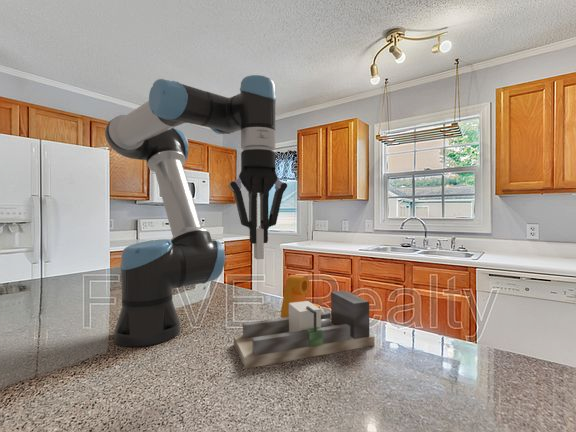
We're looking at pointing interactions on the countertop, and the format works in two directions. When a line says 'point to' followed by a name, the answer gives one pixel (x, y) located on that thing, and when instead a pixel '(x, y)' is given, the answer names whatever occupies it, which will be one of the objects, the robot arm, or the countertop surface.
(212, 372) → the countertop surface
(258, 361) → the base
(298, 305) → the gauge carriage
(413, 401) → the countertop surface
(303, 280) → the bracket
